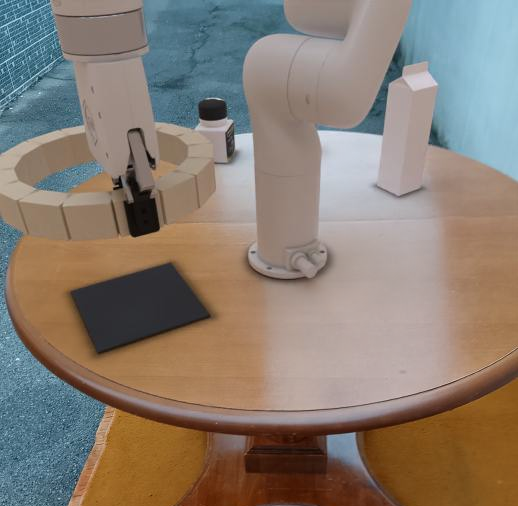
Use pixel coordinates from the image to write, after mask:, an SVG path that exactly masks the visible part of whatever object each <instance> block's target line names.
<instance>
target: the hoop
mask: <svg viewBox="0 0 518 506" xmlns="http://www.w3.org/2000/svg"><path fill="white" fill-rule="evenodd" d="M154 122H155V128H156V134H157V140H158V148H159V158H160V161H162V162H166V163H168V164H172V165H174V166H177V167H176V168H175V169H174V170H172V171H170V172H167V173H166V174H163V175H160V176H159V177H156V178H153V179H154V183H155V188H154V193H155V200H156V206H157V212H158V218H159V224H160V229H161V228H164V227H165V226H169V225H171V224H173V223H176V222H178V221H179V220H182V219H184V218H185V217H187V216H188V215H191V214H193V213H195V212H197V211H199V209H201V208H203V206H204V205H205V204H206V203H207V202H208V200H209V199H210V198H211V197H212V196H213V195H214V193H215V192H216V190H217V183H216V170H215V168H216V167H215V162H214V155H213V144H212V142H211V141H210V140H208V139H207V138H206V137H204V136H203V135H202V134H200V133H199V132H198V131H195V130H194V129H193V128H189V127H185V126H181V125H177V124H174V123H169V122H158V121H154ZM93 162H94V163H95V162H97V160H96V159H95V158H94V156H93V155H92V153H91V151H90V149H89V146H88V141H87V136H86V131H85V126H84V124H82V125H77V126H72V127H66V128H60V129H57V130H54V131H51V132H48V133H45V134H41V135H38V136H35V137H32V138H29V139H26V141H22V142H20V143H19V144H17V145H15V146H13V147H11V148H9V149H7V150H6V151H4V152H2V153H1V154H0V217H1V219H2V222H3V223H5V224H6V225H8V226H10V227H12V228H14V229H16V230H18V231H19V232H20V233H23V234H25V235H27V236H30V237H36V238H41V239H42V238H43V239H48V240H49V239H50V240H56V241H64V242H70V241H71V242H83V241H84V242H85V241H96V240H99V241H100V240H111V239H118V238H119V236H120V237H121V238H125V237H129V236H131V235H130V232H129V227H128V223H127V218H126V213H125V208H124V203H123V201H125V200H126V197H125V193H124V189H123V188H122V189H117V190H113V189H112V190H107V191H91V192H90V191H89V192H76V193H68V192H62V191H55V190H54V191H53V190H45V189H38V188H36V187H34V186H36V185H37V184H39V183H41V182H42V181H44V180H45V179H46V178H48V177H50V176H51V175H54V174H56V173H59V172H61V171H64V170H67V169H70V168H73V167H75V166H79V165H83V164H89V163H93Z"/></svg>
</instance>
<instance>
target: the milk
mask: <svg viewBox="0 0 518 506" xmlns="http://www.w3.org/2000/svg"><path fill="white" fill-rule="evenodd" d="M428 70H429V61H423V62H418V63H414V64H409V65H405V66H403V68H402V72H401V73H402V74H401V76H400V77H398V78H396V79H395V80H393V81H391V82H389V83H388V88H387V97H386V105H385V115H384V123H383V131H382V132H383V133H382V140H381V141H382V142H381V149H380V157H379V165H378V166H379V168H378V174H377V184H376V185H377V187H379V188H380V189H382V190H385V191H387V192H389V193H390V194H393V195H395V196H397V197H400V196H403V195H405V194H408V193H409V194H410V193H411V192H414V191H417V190H420V189H421V187H422V182H423V176H424V170H425V165H426V160H427V159H426V158H427V153H428V147H429V141H430V135H431V129H432V122H433V118H434V111H435V106H436V101H437V93H438V88H439V83H438V82H437V81H436V80H435V78H434V77H433V76H432V75H431V73H430V71H428Z"/></svg>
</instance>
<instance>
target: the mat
mask: <svg viewBox="0 0 518 506" xmlns="http://www.w3.org/2000/svg"><path fill="white" fill-rule="evenodd" d="M70 294H71V297H72V299H73V301H74V303H75V306H76V308H77V311H78V312H79V314H80V316H81V319H82V321H83V323H84V325H85V328H86V330H87V332H88V334H89V337H90V339H91V342H92V343H93V346H94V348H95V350H96V353H97V354H99V355H100V354H102V353H104V352H105V353H106V352H108V351H111V350H114V349H117V348H120V347H123V346H127V345H129V344H132V343H136V342H138V341H141V340H145V339H147V338H150V337H153V336H156V335H160V334H162V333H165V332H168V331H169V332H170V331H171V330H175V329H177V328H180V327H184V326H185V325H190V324H192V323H196V322H198V321H202V320H204V319H208V318H210V317H211V313H210V312H209V310H207V308H206V307H205V305H203V303H202V302H201V300H200V299H199V297H198V296H197V295H196V294H195V292H194V291H193V289H192V288H190V286H189V285H188V283H187V282H186V280H185V279H184V278H183V277H182V276H181V274H180V272H178V270H177V268H176V267H175V266H174V265H173V263H172V262H167V263H163V264H159V265H156V266H153V267H148V268H146V269H141V270H140V271H136V272H133V273H128V274H124V275H122V276H118V277H115V278H111V279H108V280H105V281H101V282H97V283H94V284H90V285H86V286H83V287H79V288H76V289H73V290H70Z"/></svg>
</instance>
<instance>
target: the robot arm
mask: <svg viewBox="0 0 518 506" xmlns="http://www.w3.org/2000/svg"><path fill="white" fill-rule="evenodd" d="M412 2H413V0H283V13H284V16H285V19H286V21H287V23H288V24H289V25H290V26H291V27H292V29H294V30H295V31H298V32H300V33H302V34H294V33H274V34H268V35H266V36H263V37H261V38H260V39H257V41H255V42H254V43H253V44H252V45H251V46H250V48H249V50H248V51H247V53H246V55H245V57H244V61H243V65H242V88H243V93H244V97H245V103H246V106H247V110H248V114H249V119H250V126H251V132H252V134H251V135H252V145H253V169H254V171H253V172H254V195H255V219H256V221H255V222H256V241H255V242H254V243H253V244H252V245H251V246H250V247H249V249H248V252H247V258H248V263H249V265H250V266H251V268H252V269H254V271H256V272H258V273H259V274H261V275H263V276H267V277H269V278H270V277H271V278H274V279H282V280H283V279H284V280H286V279H287V280H289V279H300V278H304V277H306V278H308V279H311V278H314V277H315V276H316V275H317V273H318V272H319V271H320V270H321V269H323V268H324V267H325V266H326V264H327V261H328V251H327V247H326V246H325V244H323V243H322V241H320V240H319V221H320V198H321V172H322V158H323V157H322V144H321V139H320V135H319V132H318V129H317V126H316V127H315V124H317V125H318V126H323V127H327V128H332V129H333V128H334V129H339V130H340V129H341V130H348V129H349V130H350V129H353V128H355V127H357V126H358V125H360V124H361V123H362V122H363V121H364V120H365V118H367V116H368V114H369V113H370V111H371V109H372V107H373V105H374V103H375V101H376V99H377V96H378V94H379V92H380V89H381V87H382V84H383V81H384V79H385V77H386V75H387V73H388V69H389V67H390V65H391V62H392V60H393V58H394V55H395V53H396V50H397V48H398V45H399V43H400V40H401V38H402V35H403V33H404V30H405V27H406V25H407V22H408V20H409V19H408V18H409V15H410V12H411V8H412ZM49 3H50V7H51V12H52V15H53V19H54V23H55V27H56V31H57V37H58V40H59V44H60V48H61V49H60V50H61V53H62V57H63V59H64V60H66V61H71V62H72V64H73V71H74V76H75V85H76V89H77V94H78V100H79V105H80V110H81V115H82V120H83V125H84V126H85V131H86V136H87V141H88V146H89V149H90V151H91V153H92V155H93V156H94V158H95V159H96V160H97V161H96V162H97V163H98V164H99V166H100V167H101V168H102V170H103V171H104V172H105V173H106V174H107V175H108V176H109V177H110V179H111V182H112V184H113V187H112V191H113V190H117V189H122V188H123V189H124V193H125V197H126V200H125V201H123V203H124V208H125V213H126V218H127V223H128V227H129V232H130V236H131V237H132V238H134V239H135V238H138V237H143V236H146V235H150V234H153V233H154V234H155V233H159V231H160V230H161V228H160V224H159V218H158V212H157V206H156V200H155V193H154V188H155V183H154V179H155V178H154V176H153V172H152V171H156V170H157V169H158V168H159V166H160V164H161V163H160V161H161V160H160V158H159V148H158V140H157V134H156V128H155V122H156V121H155V117H154V112H153V106H152V101H151V96H150V91H149V86H148V79H147V77H146V71H145V68H144V63H143V58H142V56H144V55H145V54H148V53H149V52H150V45H149V36H148V29H147V23H146V15H145V9H144V2H143V0H49ZM303 34H305V35H303Z"/></svg>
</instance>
